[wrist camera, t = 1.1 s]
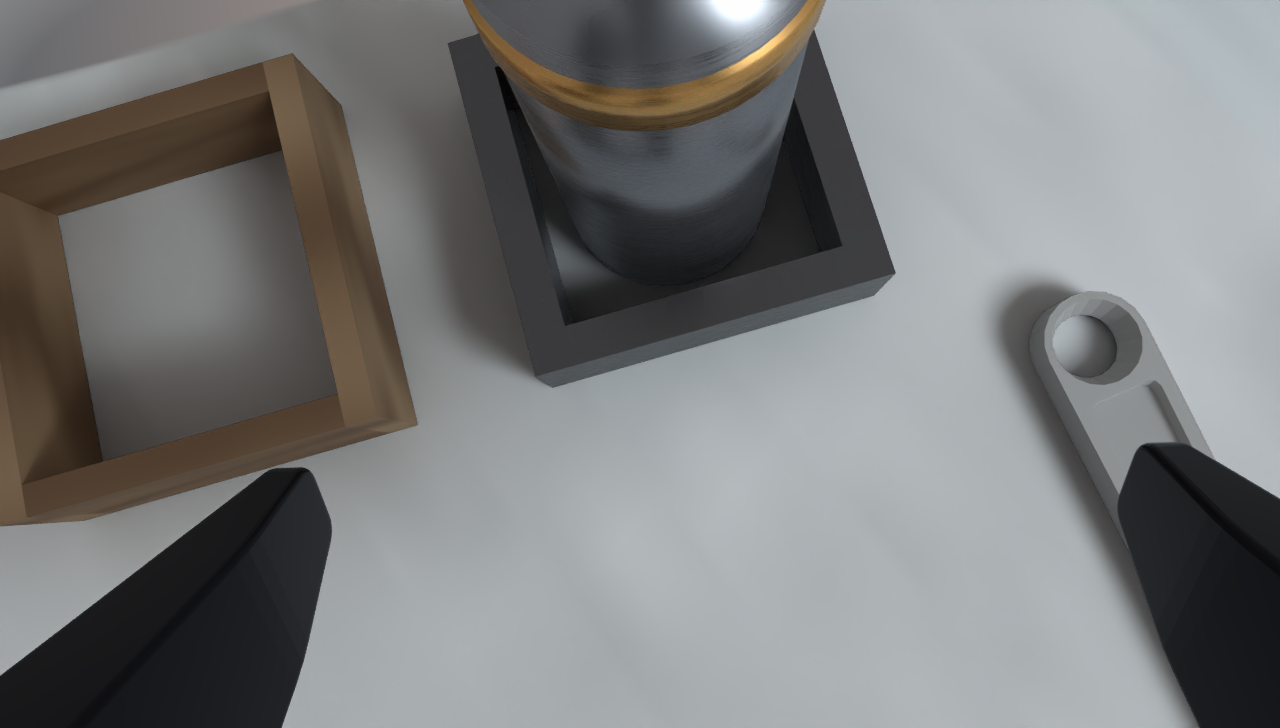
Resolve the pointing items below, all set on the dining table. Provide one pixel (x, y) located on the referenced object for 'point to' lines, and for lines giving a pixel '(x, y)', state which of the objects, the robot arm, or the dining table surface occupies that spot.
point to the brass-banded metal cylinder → (655, 117)
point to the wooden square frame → (142, 159)
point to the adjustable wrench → (1113, 394)
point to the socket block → (702, 314)
